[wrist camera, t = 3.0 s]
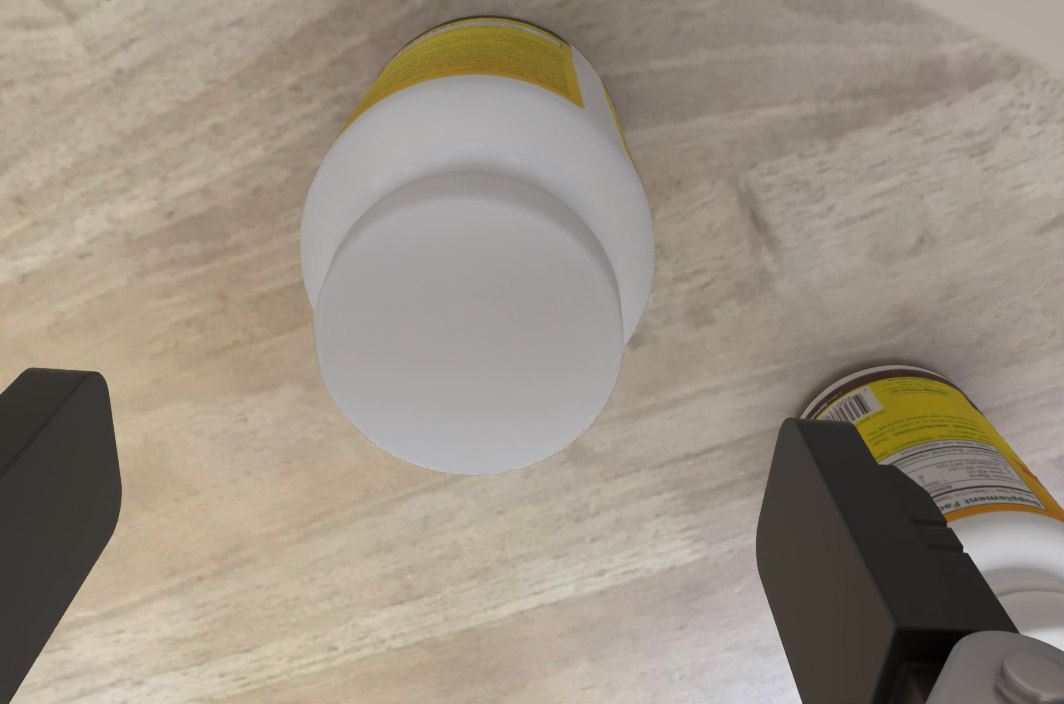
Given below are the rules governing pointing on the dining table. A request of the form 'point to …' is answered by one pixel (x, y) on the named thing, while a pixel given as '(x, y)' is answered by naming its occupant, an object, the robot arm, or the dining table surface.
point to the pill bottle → (477, 250)
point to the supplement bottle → (964, 483)
